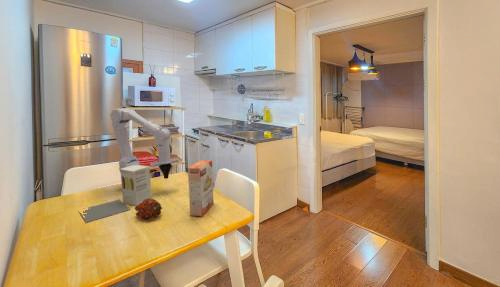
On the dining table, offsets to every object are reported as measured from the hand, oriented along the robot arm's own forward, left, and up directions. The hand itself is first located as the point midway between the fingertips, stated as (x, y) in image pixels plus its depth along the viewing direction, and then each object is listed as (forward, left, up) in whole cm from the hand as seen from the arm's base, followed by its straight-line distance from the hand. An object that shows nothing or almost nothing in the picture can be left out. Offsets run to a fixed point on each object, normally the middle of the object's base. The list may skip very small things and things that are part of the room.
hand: (166, 178), depth 131 cm
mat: (0, -30, -8) cm, 31 cm away
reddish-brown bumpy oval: (+21, -18, -8) cm, 29 cm away
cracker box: (+31, +2, -8) cm, 32 cm away
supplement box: (0, -15, -8) cm, 17 cm away
